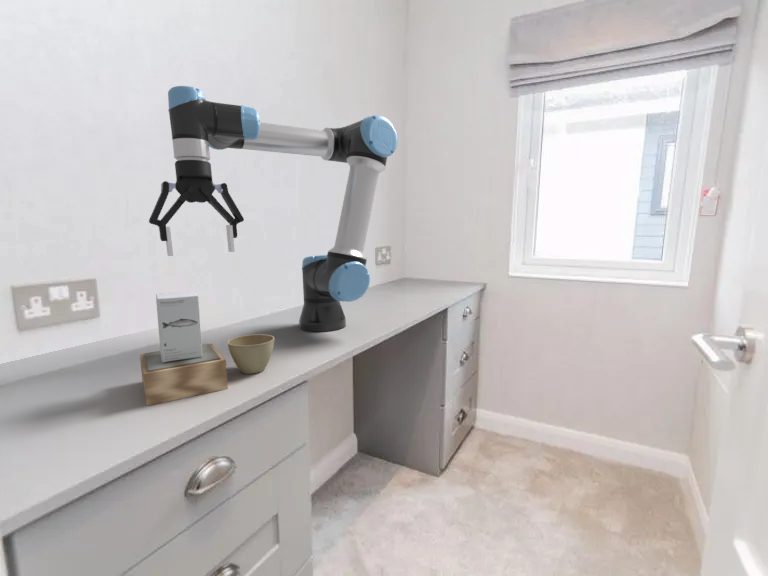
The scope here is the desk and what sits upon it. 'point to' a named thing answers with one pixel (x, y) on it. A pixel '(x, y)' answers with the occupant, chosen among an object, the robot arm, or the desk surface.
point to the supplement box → (179, 326)
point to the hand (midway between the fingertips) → (202, 253)
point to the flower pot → (251, 352)
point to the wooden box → (182, 375)
